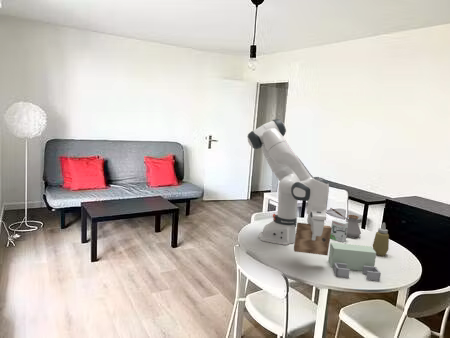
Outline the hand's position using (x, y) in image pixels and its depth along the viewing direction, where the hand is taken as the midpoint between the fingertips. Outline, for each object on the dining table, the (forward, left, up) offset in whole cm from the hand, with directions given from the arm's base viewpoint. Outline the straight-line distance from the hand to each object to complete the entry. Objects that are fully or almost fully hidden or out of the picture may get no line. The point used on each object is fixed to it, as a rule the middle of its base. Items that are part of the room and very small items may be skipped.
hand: (312, 238), depth 162 cm
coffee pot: (+29, +53, -15) cm, 62 cm away
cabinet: (+21, -1, -14) cm, 25 cm away
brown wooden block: (0, 0, -8) cm, 8 cm away
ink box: (+23, +41, -15) cm, 49 cm away
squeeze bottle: (+42, +24, -15) cm, 51 cm away
